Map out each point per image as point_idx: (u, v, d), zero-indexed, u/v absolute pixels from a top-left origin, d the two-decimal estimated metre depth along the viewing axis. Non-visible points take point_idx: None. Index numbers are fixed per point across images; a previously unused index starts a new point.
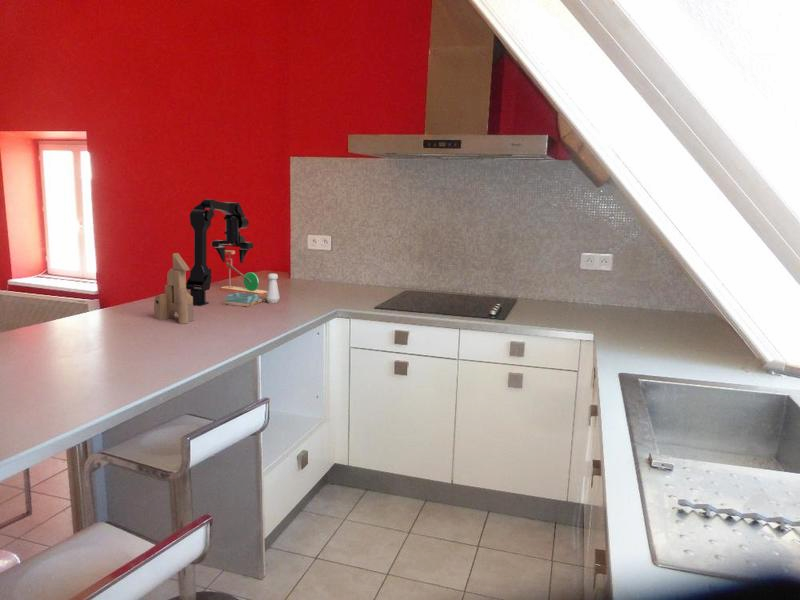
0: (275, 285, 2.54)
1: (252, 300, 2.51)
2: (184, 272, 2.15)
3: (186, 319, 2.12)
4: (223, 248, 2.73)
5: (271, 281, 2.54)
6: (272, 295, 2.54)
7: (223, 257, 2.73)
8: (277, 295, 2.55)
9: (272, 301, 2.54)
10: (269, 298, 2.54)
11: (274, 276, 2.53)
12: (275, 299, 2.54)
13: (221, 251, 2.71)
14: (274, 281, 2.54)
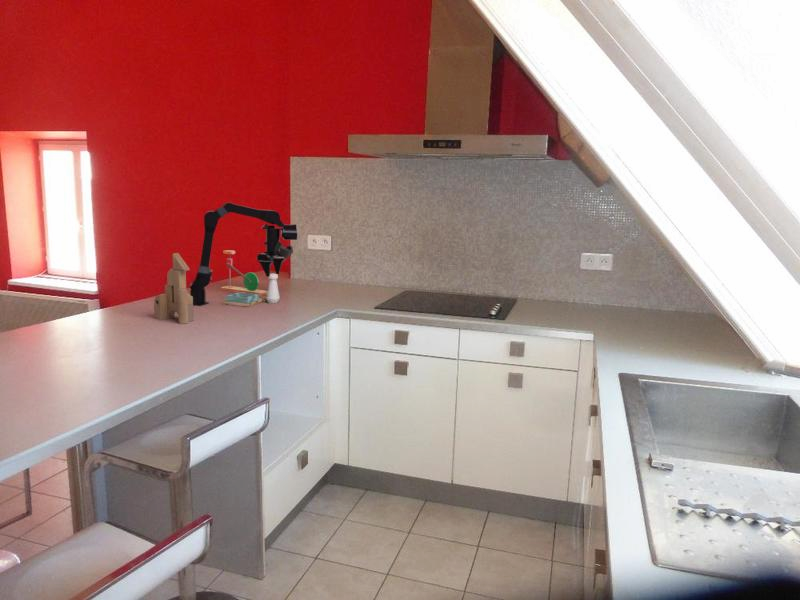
0: (275, 285, 2.54)
1: (252, 300, 2.51)
2: (184, 272, 2.15)
3: (186, 319, 2.12)
4: (279, 259, 2.58)
5: (271, 281, 2.54)
6: (272, 295, 2.54)
7: (276, 268, 2.59)
8: (277, 295, 2.55)
9: (272, 301, 2.54)
10: (269, 298, 2.54)
11: (274, 276, 2.53)
12: (275, 299, 2.54)
13: (275, 262, 2.59)
14: (274, 281, 2.54)
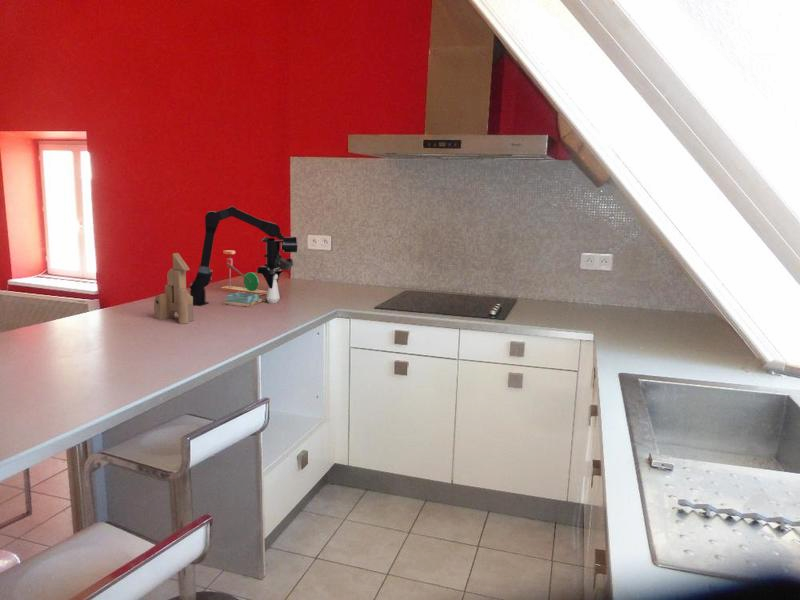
0: (275, 285, 2.54)
1: (252, 300, 2.51)
2: (184, 272, 2.15)
3: (186, 319, 2.12)
4: (276, 272, 2.57)
5: None
6: (272, 295, 2.54)
7: None
8: (277, 295, 2.55)
9: (272, 301, 2.54)
10: (269, 298, 2.54)
11: (274, 276, 2.53)
12: (275, 299, 2.54)
13: None
14: (274, 281, 2.54)
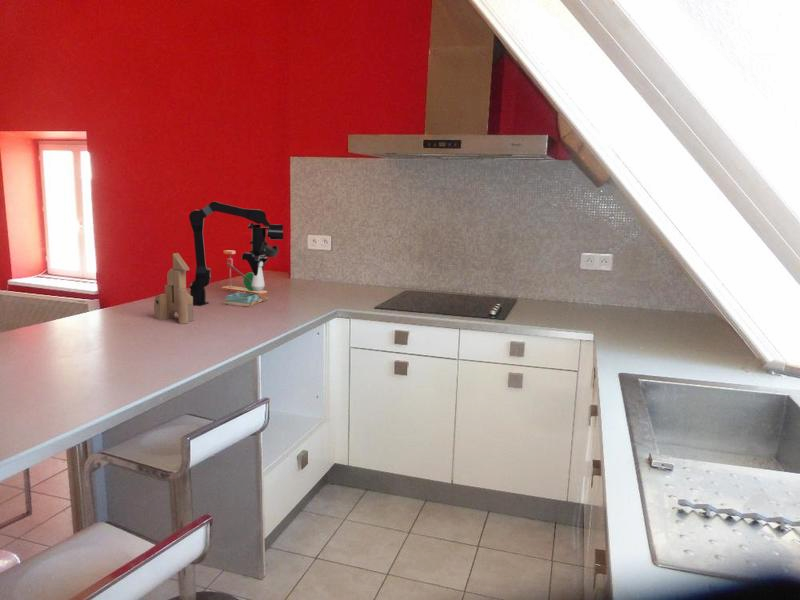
0: (260, 272, 2.51)
1: (252, 300, 2.51)
2: (184, 272, 2.15)
3: (186, 319, 2.12)
4: (262, 259, 2.54)
5: None
6: (257, 283, 2.51)
7: None
8: (262, 282, 2.52)
9: (257, 288, 2.51)
10: (254, 285, 2.51)
11: (259, 263, 2.50)
12: (260, 286, 2.51)
13: None
14: (259, 268, 2.51)
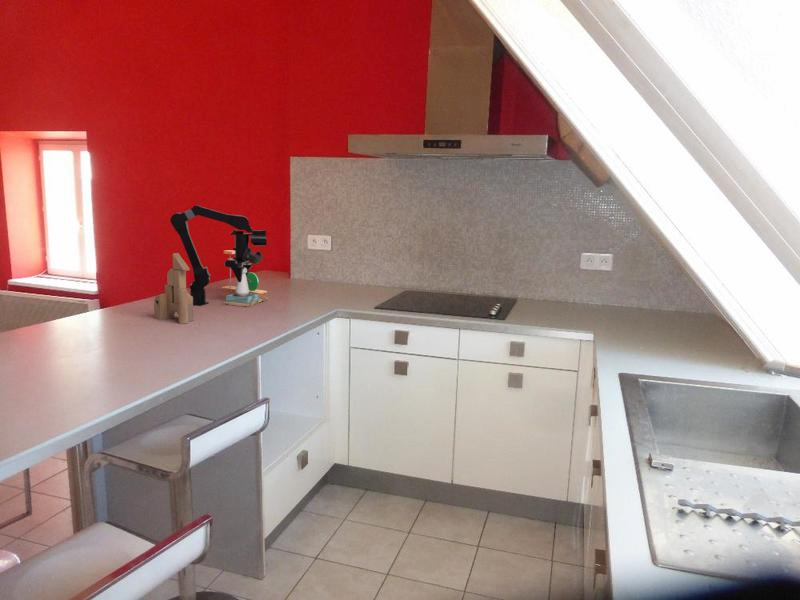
0: (244, 279, 2.50)
1: (252, 300, 2.51)
2: (184, 272, 2.15)
3: (186, 319, 2.12)
4: (246, 266, 2.52)
5: None
6: (241, 289, 2.49)
7: None
8: (246, 289, 2.50)
9: (241, 295, 2.50)
10: (238, 292, 2.49)
11: (243, 270, 2.48)
12: (244, 293, 2.50)
13: None
14: (243, 275, 2.49)
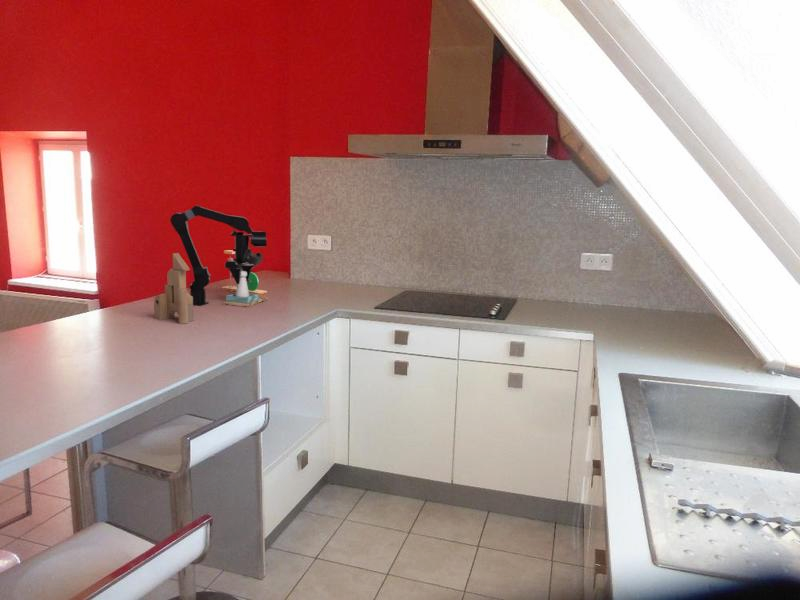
0: (244, 283, 2.50)
1: (252, 300, 2.51)
2: (184, 272, 2.15)
3: (186, 319, 2.12)
4: (248, 266, 2.54)
5: (240, 278, 2.49)
6: (241, 293, 2.49)
7: None
8: (246, 293, 2.51)
9: None
10: (238, 296, 2.50)
11: (243, 273, 2.49)
12: None
13: (243, 269, 2.54)
14: (243, 278, 2.50)
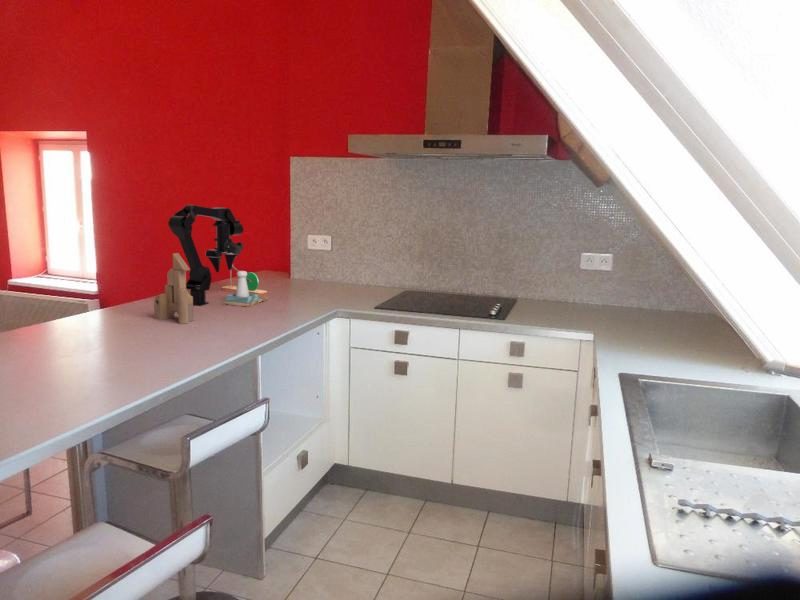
0: (244, 283, 2.50)
1: (252, 300, 2.51)
2: (184, 272, 2.15)
3: (186, 319, 2.12)
4: (231, 255, 2.64)
5: (240, 278, 2.49)
6: (241, 293, 2.49)
7: (228, 264, 2.64)
8: (246, 293, 2.51)
9: None
10: (238, 296, 2.50)
11: (243, 273, 2.49)
12: None
13: (227, 258, 2.64)
14: (243, 279, 2.50)
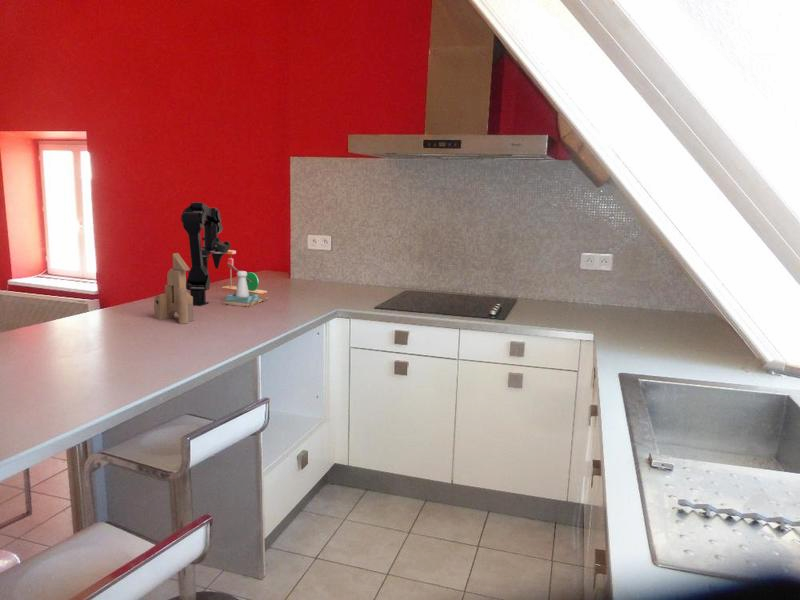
0: (244, 283, 2.50)
1: (252, 300, 2.51)
2: (184, 272, 2.15)
3: (186, 319, 2.12)
4: (218, 254, 2.70)
5: (240, 278, 2.49)
6: (241, 293, 2.49)
7: (215, 263, 2.70)
8: (246, 293, 2.51)
9: None
10: (238, 296, 2.50)
11: (243, 273, 2.49)
12: None
13: (214, 257, 2.70)
14: (243, 278, 2.50)
